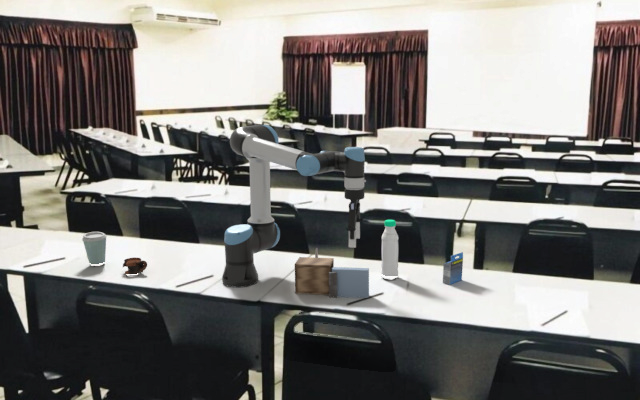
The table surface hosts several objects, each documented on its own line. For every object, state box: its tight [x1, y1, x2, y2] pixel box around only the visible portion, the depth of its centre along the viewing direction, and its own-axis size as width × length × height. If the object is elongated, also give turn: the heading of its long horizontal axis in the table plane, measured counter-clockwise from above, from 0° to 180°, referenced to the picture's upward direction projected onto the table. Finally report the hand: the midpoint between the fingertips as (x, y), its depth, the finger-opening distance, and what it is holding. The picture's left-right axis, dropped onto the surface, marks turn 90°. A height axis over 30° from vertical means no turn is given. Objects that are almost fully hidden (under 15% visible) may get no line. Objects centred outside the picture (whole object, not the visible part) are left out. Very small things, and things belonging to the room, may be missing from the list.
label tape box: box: [442, 251, 464, 286], centre depth 253 cm, size 9×4×12 cm, turn 134°
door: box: [332, 266, 370, 299], centre depth 238 cm, size 14×3×11 cm, turn 81°
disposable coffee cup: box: [81, 231, 107, 264], centre depth 284 cm, size 11×11×15 cm
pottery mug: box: [122, 257, 148, 274], centre depth 272 cm, size 12×10×8 cm
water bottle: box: [380, 219, 399, 277], centre depth 258 cm, size 7×7×25 cm
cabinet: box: [294, 256, 338, 299], centre depth 243 cm, size 17×13×12 cm
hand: (354, 242), depth 236 cm, fingers open, 13 cm apart
